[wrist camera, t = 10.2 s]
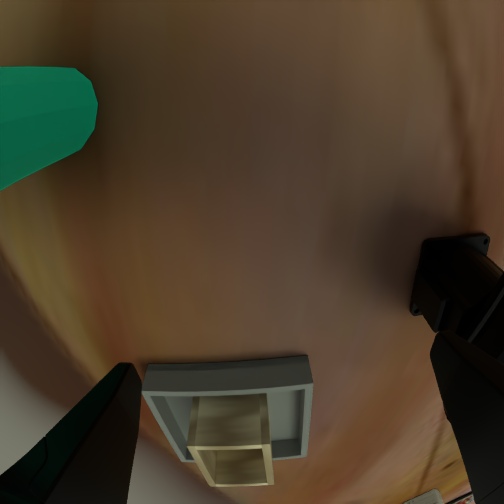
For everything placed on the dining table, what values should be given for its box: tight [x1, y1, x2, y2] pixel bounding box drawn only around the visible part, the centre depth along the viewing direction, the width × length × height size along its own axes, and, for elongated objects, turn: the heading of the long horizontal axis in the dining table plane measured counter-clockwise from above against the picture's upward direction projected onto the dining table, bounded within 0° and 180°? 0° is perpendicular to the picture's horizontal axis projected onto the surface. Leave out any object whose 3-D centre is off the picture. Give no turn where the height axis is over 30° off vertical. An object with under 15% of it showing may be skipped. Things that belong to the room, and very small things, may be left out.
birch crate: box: [187, 393, 274, 486], centre depth 25 cm, size 6×9×6 cm, turn 5°
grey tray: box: [142, 355, 313, 462], centre depth 27 cm, size 13×13×3 cm
